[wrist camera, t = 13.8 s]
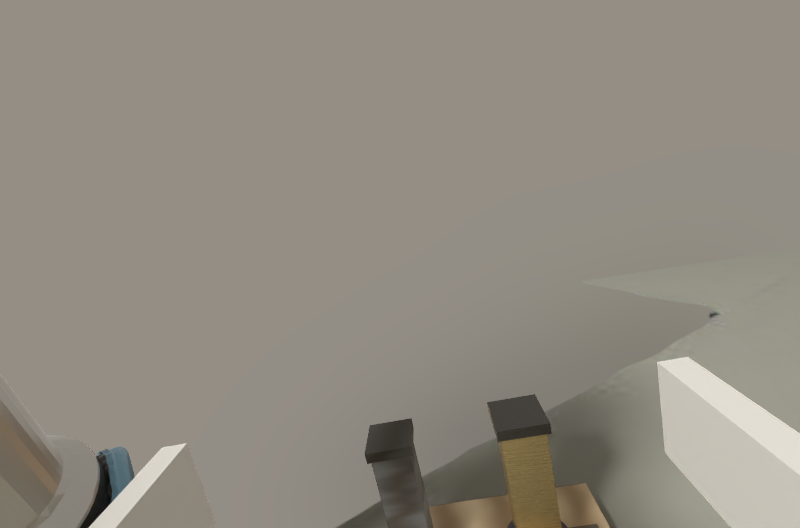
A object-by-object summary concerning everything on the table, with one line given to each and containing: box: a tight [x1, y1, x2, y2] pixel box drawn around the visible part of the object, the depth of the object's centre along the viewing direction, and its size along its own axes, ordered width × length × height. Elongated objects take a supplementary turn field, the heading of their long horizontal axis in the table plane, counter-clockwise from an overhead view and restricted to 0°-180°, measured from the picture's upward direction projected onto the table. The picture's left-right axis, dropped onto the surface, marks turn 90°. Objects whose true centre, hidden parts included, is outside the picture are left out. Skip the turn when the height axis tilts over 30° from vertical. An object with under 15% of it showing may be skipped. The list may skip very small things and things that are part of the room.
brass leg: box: [487, 394, 562, 528], centre depth 39 cm, size 5×5×14 cm
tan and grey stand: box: [365, 419, 610, 528], centre depth 39 cm, size 22×12×16 cm, turn 88°
